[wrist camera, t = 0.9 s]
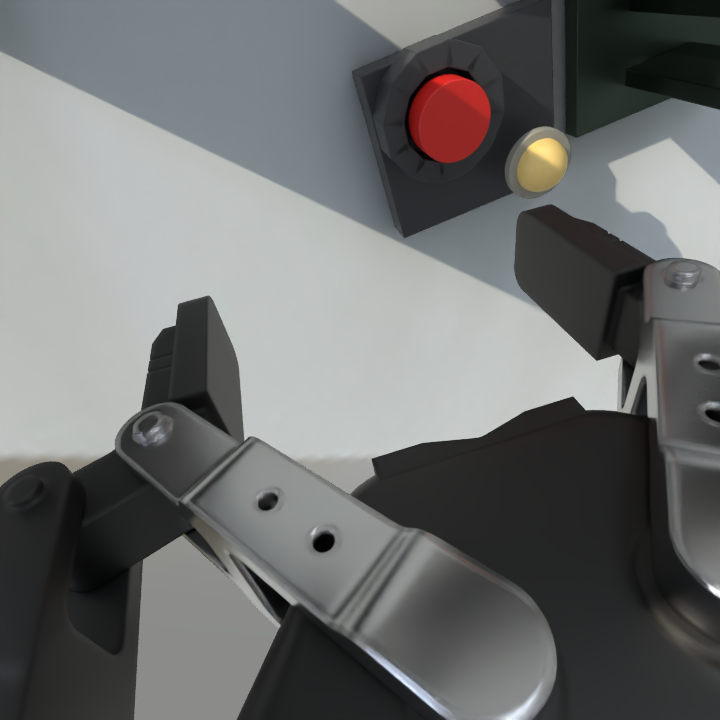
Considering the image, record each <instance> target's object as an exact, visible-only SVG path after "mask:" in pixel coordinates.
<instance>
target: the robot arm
mask: <svg viewBox="0 0 720 720" xmlns="http://www.w3.org/2000/svg"><path fill="white" fill-rule="evenodd" d="M514 270H515V276H516V280H517V282H518V284H519V286H520V288H521V289H522V290H523V291H524V292H525V293H526V294H527V295H528V296H529V297H530V298H531V299H533V300H534V301H535V302H536V303H537V304H538V305H539V306H540V307H541V308H542V309H543V310H544V311H545V312H546V313H547V314H548V315H549V316H550V317H551V318H552V319H553V320H555V321H556V322H557V323H558V324H559V325H560V326H561V327H562V328H563V329H564V330H565V331H566V332H567V333H568V334H569V335H570V336H571V337H572V338H573V339H574V340H575V341H576V342H578V343H579V344H580V345H581V346H582V347H583V348H584V349H585V350H586V351H587V352H588V353H589V354H590V355H591V356H592V357H593V358H594V359H595V360H596V361H598V360H601V359H604V358H608V357H611V356H614V355H617V354H619V355H620V356H621V357H622V358H621V362H620V365H619V372H618V402H617V411H607V410H587V411H586V410H585V409H584V408H583V407H582V406H581V405H580V404H579V403H578V401H577V400H576V399H575V398H574V397H570V398H567V399H563V400H560V401H557V402H554V403H550V404H547V405H544V406H541V407H537V408H534V409H531V410H528V411H525V412H523V413H521V414H520V415H518V416H516V417H515V418H513V419H511V420H510V421H508V422H506V423H505V424H503V425H501V426H500V427H498V428H496V429H495V430H493V431H491V432H489V433H488V434H486V435H484V436H482V437H479V438H472V439H461V440H450V441H440V442H429V443H421V444H418V445H415V446H411V447H408V448H405V449H402V450H399V451H395V452H392V453H389V454H386V455H382V456H379V457H376V458H373V459H372V463H373V466H374V471H375V475H374V476H373V477H371V478H370V479H368V480H366V481H365V482H364V483H363V484H361V485H360V486H358V487H357V488H356V489H355V490H354V491H353V492H352V493H351V494H348V493H346V492H345V491H343V490H341V489H340V488H338V487H336V486H335V485H333V484H332V483H330V482H329V481H327V480H325V479H323V478H322V477H320V476H319V475H317V474H315V473H314V472H312V471H311V470H309V469H307V468H306V467H304V466H303V465H301V464H299V463H298V462H296V461H294V460H293V459H291V458H290V457H288V456H286V455H285V454H283V453H281V452H280V451H278V450H277V449H275V448H273V447H272V446H270V445H268V444H267V443H265V442H264V441H262V440H260V439H258V438H256V437H248V438H247V439H246V440H245V441H244V431H243V418H242V404H241V391H240V377H239V366H238V361H237V357H236V354H235V351H234V348H233V345H232V343H231V341H230V338H229V336H228V334H227V332H226V329H225V327H224V325H223V322H222V320H221V318H220V315H219V313H218V311H217V308H216V306H215V304H214V302H213V300H212V298H211V297H210V296H205V297H202V298H198V299H194V300H190V301H187V302H183V303H179V304H178V310H177V319H176V326H172V327H169V328H165V329H163V330H162V331H161V333H160V334H159V335H158V337H157V338H156V340H155V341H154V342H153V344H152V349H151V355H150V360H151V361H149V367H148V371H149V373H147V379H146V385H145V390H144V396H143V402H142V408H141V411H140V412H138V413H137V414H135V415H134V416H133V417H131V418H130V419H129V420H128V421H127V422H126V423H125V424H124V425H123V426H122V428H121V429H120V431H119V432H118V434H117V437H116V439H115V450H113V451H112V452H110V453H109V454H107V455H105V456H104V457H102V458H100V459H98V460H96V461H94V462H92V463H90V464H89V465H87V466H85V467H83V468H81V469H79V470H77V471H75V472H74V473H72V472H71V471H70V470H69V469H68V468H67V467H66V466H65V465H64V464H62V463H59V462H43V463H39V464H36V465H34V466H31V467H28V468H27V469H24V470H23V471H21V472H19V473H17V474H16V475H15V476H13V477H12V478H10V479H9V480H8V481H6V482H5V483H4V484H3V485H2V486H1V487H0V720H134V706H135V689H136V671H137V654H138V635H139V617H140V600H141V583H142V582H141V581H142V564H143V559H144V558H146V557H148V556H149V555H151V554H153V553H154V552H156V551H157V550H159V549H160V548H162V547H164V546H165V545H167V544H168V543H170V542H171V541H173V540H175V539H176V538H178V537H180V536H181V535H183V536H184V537H185V538H186V539H187V540H188V541H189V542H190V543H191V544H192V545H194V547H195V548H197V549H198V550H199V551H200V552H201V553H202V554H203V555H204V556H205V557H206V558H208V559H209V560H210V561H211V562H212V563H213V564H214V565H215V566H216V567H217V568H218V569H219V570H220V571H222V572H223V573H224V574H225V575H226V576H227V577H228V578H229V579H230V580H231V581H232V582H233V583H235V584H236V585H237V586H238V587H239V588H240V590H241V591H242V592H243V593H244V594H245V595H246V596H247V597H248V598H249V599H250V601H251V602H252V603H253V604H254V605H255V606H256V607H257V608H258V609H259V610H260V611H261V612H262V613H263V614H264V615H265V616H266V617H267V618H268V619H269V620H270V621H271V622H272V623H273V624H274V625H276V626H277V627H278V628H279V630H278V632H277V635H276V636H275V639H274V641H273V643H272V645H271V647H270V649H269V652H268V654H267V656H266V658H265V660H264V662H263V664H262V667H261V669H260V671H259V673H258V675H257V677H256V679H255V682H254V684H253V686H252V688H251V690H250V692H249V694H248V697H247V699H246V701H245V703H244V705H243V707H242V709H241V712H240V714H239V716H238V718H237V720H720V271H719V270H718V269H716V268H715V267H713V266H711V265H709V264H707V263H704V262H701V261H697V260H692V259H685V258H668V259H661V260H658V261H655V260H654V259H652V258H650V257H649V256H647V255H645V254H644V253H642V252H640V251H639V250H637V249H635V248H634V247H632V246H630V245H629V244H627V243H625V242H624V241H620V240H619V238H617V237H616V236H614V235H612V234H608V232H607V231H606V230H604V229H602V228H601V227H599V226H597V225H596V224H594V223H591V222H587V221H584V220H580V219H577V218H573V217H572V216H570V215H568V214H567V213H565V212H564V211H562V210H560V209H559V208H557V207H556V206H554V205H551V204H550V205H545V206H542V207H538V208H534V209H531V210H527V211H523V212H521V213H520V215H519V216H518V219H517V229H516V246H515V264H514Z"/></svg>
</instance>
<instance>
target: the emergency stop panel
mask: <svg viewBox="0 0 720 720" xmlns="http://www.w3.org/2000/svg"><path fill="white" fill-rule="evenodd" d="M352 74H353V77H354V81H355V84H356V88H357V92H358V95H359V99H360V102H361V106H362V110H363V113H364V117H365V120H366V124H367V128H368V131H369V135H370V138H371V142H372V145H373V149H374V153H375V156H376V160H377V163H378V167H379V171H380V174H381V178H382V181H383V185H384V189H385V192H386V196H387V199H388V203H389V206H390V210H391V214H392V217H393V221H394V224H395V227H396V228H397V230H398V231H399V232H400V234H401V235H402V236H403V237H404V238H406V237H408V236H411V235H413V234H415V233H418V232H420V231H423V230H425V229H427V228H430V227H432V226H435V225H437V224H439V223H442V222H444V221H446V220H449V219H451V218H454V217H456V216H458V215H461V214H463V213H466V212H468V211H470V210H473V209H475V208H478V207H480V206H482V205H485V204H487V203H489V202H492V201H494V200H497V199H499V198H501V197H504V196H506V195H509V194H511V193H513V191H512V190H511V189H510V188H509V187H508V185H507V183H506V179H505V164H506V160H507V157H508V155H509V153H510V151H511V149H512V147H513V146H514V144H515V143H516V142H517V141H518V140H519V139H520V138H521V137H522V136H523V135H524V134H526V133H527V132H529V131H531V130H533V129H535V128H538V127H545V126H547V127H552V128H554V109H553V64H552V19H551V0H520V1H517V2H515V3H513V4H510V5H508V6H505V7H503V8H501V9H498V10H496V11H494V12H491V13H489V14H486V15H484V16H482V17H479V18H477V19H475V20H472V21H470V22H468V23H465V24H463V25H460V26H458V27H456V28H453V29H451V30H449V31H446V32H444V33H442V34H439V35H434V36H432V37H429V38H427V39H424V40H422V41H420V42H417V43H415V44H413V45H410V46H408V47H406V48H404V49H403V50H401V51H399V52H397V53H394V54H392V55H389V56H387V57H385V58H382V59H380V60H378V61H375V62H373V63H371V64H368V65H366V66H363V67H361V68H359V69H356V70H354V71H352ZM443 74H455V75H458V76H461V77H463V78H466V79H469V80H471V81H474V82H475V83H477V84H478V85H480V86H481V87H482V89H483V90H484V91H485V93H486V95H487V97H488V100H489V103H490V110H491V116H490V124H489V128H488V131H487V133H486V136H485V137H484V139H483V141H482V143H481V144H480V145H479V147H478V148H477V149H476V150H475V151H474V152H473V153H472V154H471V155H469V156H468V157H466V158H464V159H462V160H460V161H457V162H453V163H443V162H439V161H436V160H434V159H433V158H431V157H430V156H429V155H427V154H426V153H425V152H424V151H422V150H421V149H420V148H419V147H418V146H417V145H416V144H415V142H414V141H413V139H412V137H411V134H410V130H409V112H410V108H411V104H412V102H413V100H414V98H415V96H416V94H417V93H418V91H419V90H420V89H421V87H422V86H423V85H424V84H425V83H427V82H428V81H429V80H431V79H432V78H434V77H436V76H439V75H443Z"/></svg>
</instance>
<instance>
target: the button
mask: <svg viewBox="0 0 720 720" xmlns="http://www.w3.org/2000/svg"><path fill="white" fill-rule="evenodd" d="M490 116H491V110H490V103H489V100H488V97H487V95H486V93H485V91H484V90H483V89H482V87H481V86H480V85H478V84H477V83H475V82H474V81H471V80H469V79H466V78H463V77H461V76H458V75H455V74H443V75H439V76H436V77H434V78H432V79H431V80H429V81H428V82H427V83H425V84H424V85H423V86H422V87H421V89H420V90H419V91H418V93H417V94H416V96H415V98H414V100H413V102H412V104H411V108H410V112H409V130H410V134H411V137H412V139H413V141H414V142H415V144H416V145H417V146H418V147H419V148H420V149H421V150H422V151H424V152H425V153H426V154H427V155H429V156H430V157H431V158H433V159H434V160H436V161H439V162H443V163H453V162H457V161H460V160H462V159H464V158H466V157H468V156H469V155H471V154H472V153H473V152H474V151H475V150H476V149H477V148H478V147H479V145H480V144H481V143H482V141H483V139H484V137H485V136H486V133H487V131H488V128H489V124H490Z"/></svg>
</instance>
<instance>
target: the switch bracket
mask: <svg viewBox="0 0 720 720" xmlns="http://www.w3.org/2000/svg"><path fill="white" fill-rule="evenodd" d="M565 25H566V134H569V135H571V136H573V137H576V138H577V137H579V136H582V135H584V134H586V133H589V132H591V131H593V130H596V129H598V128H601V127H603V126H605V125H608V124H610V123H613V122H615V121H617V120H620V119H622V118H624V117H627V116H629V115H632V114H634V113H636V112H639V111H641V110H644V109H646V108H648V107H651V106H653V105H655V104H658V103H660V102H663V101H665V100H667V99H670V98H675V99H679V100H683V101H687V102H691V103H695V104H699V105H703V106H707V107H711V108H715V109H719V110H720V0H565Z"/></svg>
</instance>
